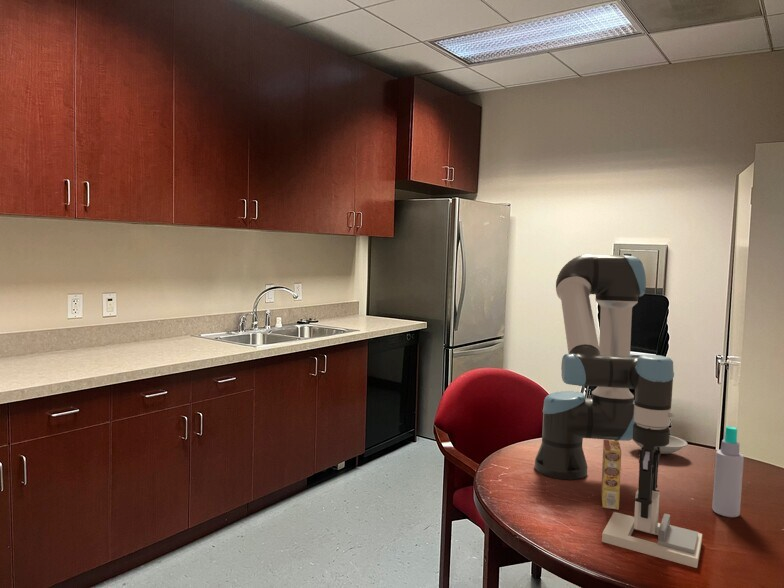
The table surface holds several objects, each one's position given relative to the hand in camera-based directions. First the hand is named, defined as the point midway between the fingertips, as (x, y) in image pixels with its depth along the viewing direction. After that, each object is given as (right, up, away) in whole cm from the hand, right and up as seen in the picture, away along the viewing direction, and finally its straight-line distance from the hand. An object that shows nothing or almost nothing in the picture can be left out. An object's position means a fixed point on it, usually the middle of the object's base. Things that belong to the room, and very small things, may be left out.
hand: (645, 525), depth 129 cm
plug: (0, 0, 0) cm, 0 cm away
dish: (+30, 0, +59) cm, 66 cm away
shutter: (+6, -2, -3) cm, 7 cm away
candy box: (-1, -2, +20) cm, 20 cm away
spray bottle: (+27, -3, +16) cm, 32 cm away
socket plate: (+1, -3, 0) cm, 4 cm away
